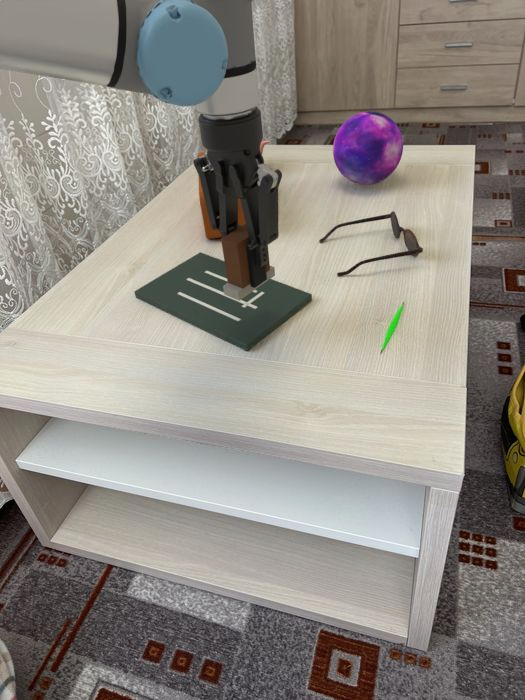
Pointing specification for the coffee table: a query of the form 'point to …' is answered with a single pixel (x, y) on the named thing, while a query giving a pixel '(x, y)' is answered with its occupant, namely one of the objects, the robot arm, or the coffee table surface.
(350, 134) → the decorative orb
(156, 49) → the robot arm
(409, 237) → the eyeglasses
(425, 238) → the coffee table surface
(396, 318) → the leaf
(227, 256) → the eraser
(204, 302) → the chalkboard
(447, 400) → the coffee table surface
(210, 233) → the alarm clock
